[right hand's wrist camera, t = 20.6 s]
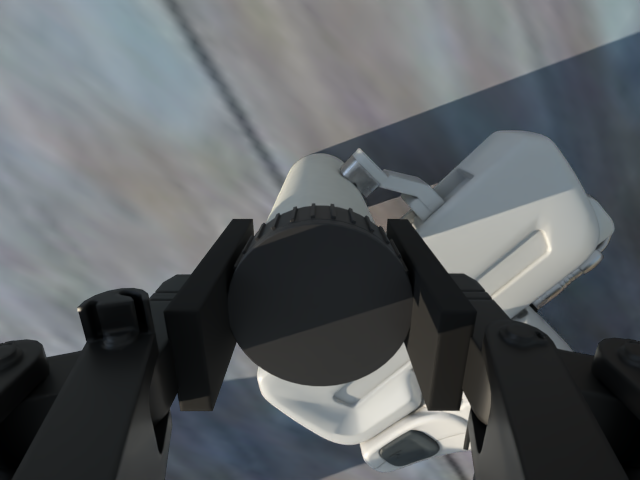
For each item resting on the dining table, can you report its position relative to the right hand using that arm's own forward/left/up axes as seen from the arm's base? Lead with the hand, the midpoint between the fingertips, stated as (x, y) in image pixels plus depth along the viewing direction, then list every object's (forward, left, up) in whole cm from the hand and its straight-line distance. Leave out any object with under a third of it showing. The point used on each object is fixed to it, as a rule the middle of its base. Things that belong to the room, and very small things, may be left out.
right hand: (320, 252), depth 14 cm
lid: (0, 0, +4) cm, 4 cm away
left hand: (0, -1, -5) cm, 5 cm away
